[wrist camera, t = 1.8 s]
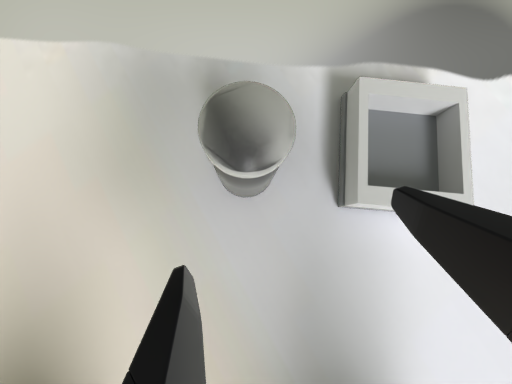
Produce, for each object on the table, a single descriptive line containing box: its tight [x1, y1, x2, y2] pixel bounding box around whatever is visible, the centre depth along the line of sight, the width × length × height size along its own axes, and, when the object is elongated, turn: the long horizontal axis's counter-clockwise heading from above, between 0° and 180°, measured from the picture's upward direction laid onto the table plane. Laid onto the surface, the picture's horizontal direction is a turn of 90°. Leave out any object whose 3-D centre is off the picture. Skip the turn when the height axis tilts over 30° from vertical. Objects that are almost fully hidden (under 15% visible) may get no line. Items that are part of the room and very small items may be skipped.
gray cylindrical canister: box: [198, 81, 296, 197], centre depth 18 cm, size 5×5×10 cm
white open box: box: [338, 76, 474, 212], centre depth 22 cm, size 11×10×4 cm
